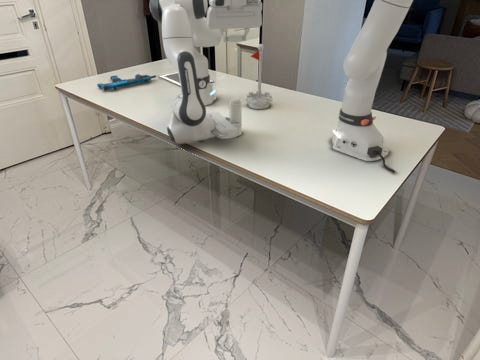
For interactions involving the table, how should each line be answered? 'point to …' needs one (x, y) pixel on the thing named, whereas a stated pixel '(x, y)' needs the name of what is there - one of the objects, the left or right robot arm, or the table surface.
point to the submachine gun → (124, 82)
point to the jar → (235, 112)
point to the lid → (234, 38)
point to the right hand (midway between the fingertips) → (234, 41)
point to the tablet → (173, 78)
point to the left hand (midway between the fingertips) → (237, 121)
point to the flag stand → (259, 87)
